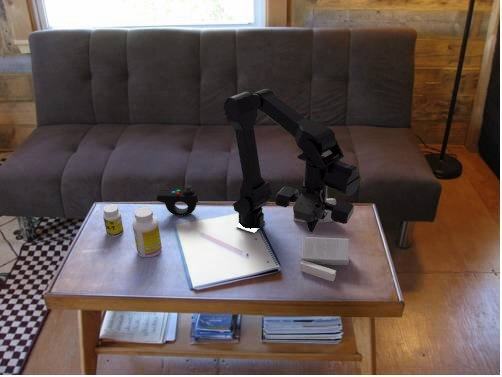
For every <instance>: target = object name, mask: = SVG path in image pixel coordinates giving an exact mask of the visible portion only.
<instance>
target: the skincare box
mask: <svg viewBox="0 0 502 377" xmlns="http://www.w3.org/2000/svg"><path fill="white" fill-rule="evenodd" d="M349 253H350V239H349V238H335V237H334V238H333V237H313V236H311V237H310V236H307V237H306V236H302V239H301V261H302V260H305V261H308V262H311V263H314V264H317V265H331V266H332V265H334V266H349V260H350V259H349V257H350V255H349Z"/></svg>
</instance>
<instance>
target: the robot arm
mask: <svg viewBox="0 0 502 377" xmlns="http://www.w3.org/2000/svg"><path fill="white" fill-rule="evenodd" d="M258 110H259V111H261V112H262V113H264V115H266V116H267V117H268V118H270V119H271V120H272V121H273V122H274V123H276V124H277V125H279V126H280V127H281V128H282V129H283V130H285V131H286V132H288V133H289V134H290V135H291V136H292V137H293V138H294V141H295V144H296V145H297V147H298V148H299V149H300V150H301V151H302V153H300V154H298V155H297V159H298V160H301V161H304V172H303V173H304V174H303V184H302V185H301V189H300V190H299V189H298V188H294V187H291V186H287V185H285V186H283V187H282V188H281V189H280V190H279V191H278V192H277V194H276V195H275V198H274V204H275V205H276V206H279V207H283V208H287V207H289V206H290V204H291V202H293V203H294V202H295V204H293V205H292V210H293V211H292V212H293V218H294V217H295V218H296V219H301V220H304V221H306V222H305V223H306V226H307V229H308V231H309V232H310V233H311V234H312V233H314V232H315V230H316V227H317V226H318V225H319V223H320V222H319V220H320V219H321V220H323V219H325V217H326V216H327V214H328V213H331V219H332V220H333V222H336V223H340V224H343V225H346V224H348V222H349V221H350V219H351V217H352V216H353V215H354V211H355V207H354V205H353V203H352V202H348V201H344V200H340V199H338V200H337V201H336V205H333V204H331V202H330V201H326V199H327V198H328V196H329V193H328V188H330V189H333V191H336V192H339V193H341V194H344V195H346V196H349V197H350V196H353V194H354V193H356V191H357V190H358V188H359V186H360V183H361V174H360V172H359V171H357V169H358V167H357V166H356V165H354V164H350V163H346V162H345V161H342V159H343V158H345V155H344V153H343V151H342V149H341V147H340V144H339V143H338V141H337V138H336V136H335V135H336V133H335V132H334V130H332V129H331V128H330V127H329V126H326V125H324V124H322V123H321V122H317V121H312V120H309V119H307V118H306V117H304V116H303V115H302V114H300V113H299V112H297V111H296V110H295V109H294V108H292V107H291V106H290V105H289V104H287V103H286V102H284V101H283V100H282V99H281V98H279V97H278V96H276V95H275V94H274V92H273V90H271V89H269V88H264V89H260V90H258V91H256V92H254V93H251V92H249V91H243V92H241V93H238V94H235V95H233V96H230V97H227V99H225V101H224V103H223V111H224V113H225V116H226V120H227V122H228V123H229V124H230V126H231V127H232V128H233V129H234V131H235V132H234V133H235V137H236V144H237V150H238V155H239V161H240V166H241V167H240V169H241V173H242V178H243V179H242V182H241V185H240V187H239V188H240V189H239V200H237V201H235V202H233V204H232V206H233V210H234V211H235V212H236V213H238V223H240V224H241V225H242V226H243V227H245V228H250V229H251V228H260V229H262V227H263V226H264V224H265V222H266V221H265V214H264V212H263V207H264V206H266V205H267V204H268V203H269V202H270V200H271V198H272V197H271V196H272V195H273V193H272V190H271V183H270V181H266V180H265V179H264V178H263V177H262V173H261V167H260V159H259V154H258V148H257V140H256V134H255V128H254V127H255V123H256V120H257V117H258ZM328 152H331V153H330V154H328V155H327V156H324V155H325V154H327V153H328ZM299 191H300V193H299Z"/></svg>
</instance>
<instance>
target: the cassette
mask: <svg viewBox="0 0 502 377" xmlns="http://www.w3.org/2000/svg"><path fill="white" fill-rule="evenodd" d="M326 201H330V202H331V204H333V205H336V203H337V200H336V198H332V197H331V198H330V197H329V198H328V197H327V199H326ZM293 203H294V204H295V202H293ZM294 204H293V205H294ZM292 220H293V222H300V223H306V221H304V220H301V219H296V218H295V217H294V216H293V219H292ZM328 222H330V223H331V222H334V221H333V220H332V219H331V213H328V214H327V216H326V217H325V219H323V220H321V219H320V220H319V222H318V223H328Z"/></svg>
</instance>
